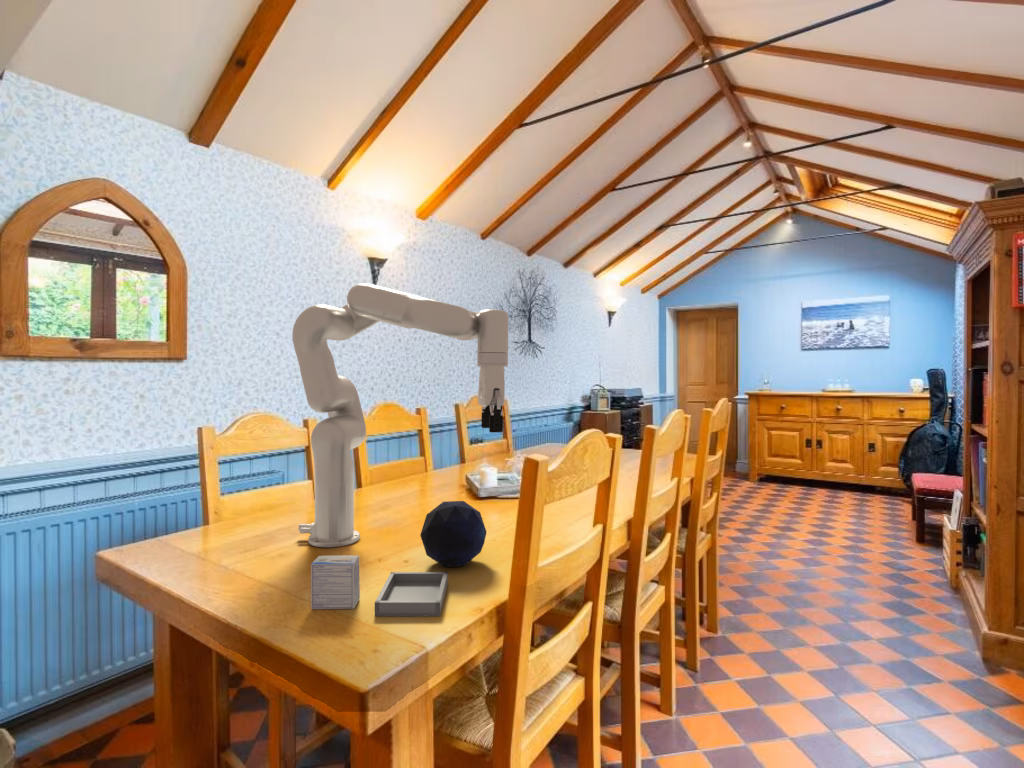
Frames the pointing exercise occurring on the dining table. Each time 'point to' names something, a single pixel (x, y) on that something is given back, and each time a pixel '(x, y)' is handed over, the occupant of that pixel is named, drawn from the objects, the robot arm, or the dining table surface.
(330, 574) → the medicine box
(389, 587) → the tray
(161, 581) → the dining table surface
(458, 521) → the decorative orb
